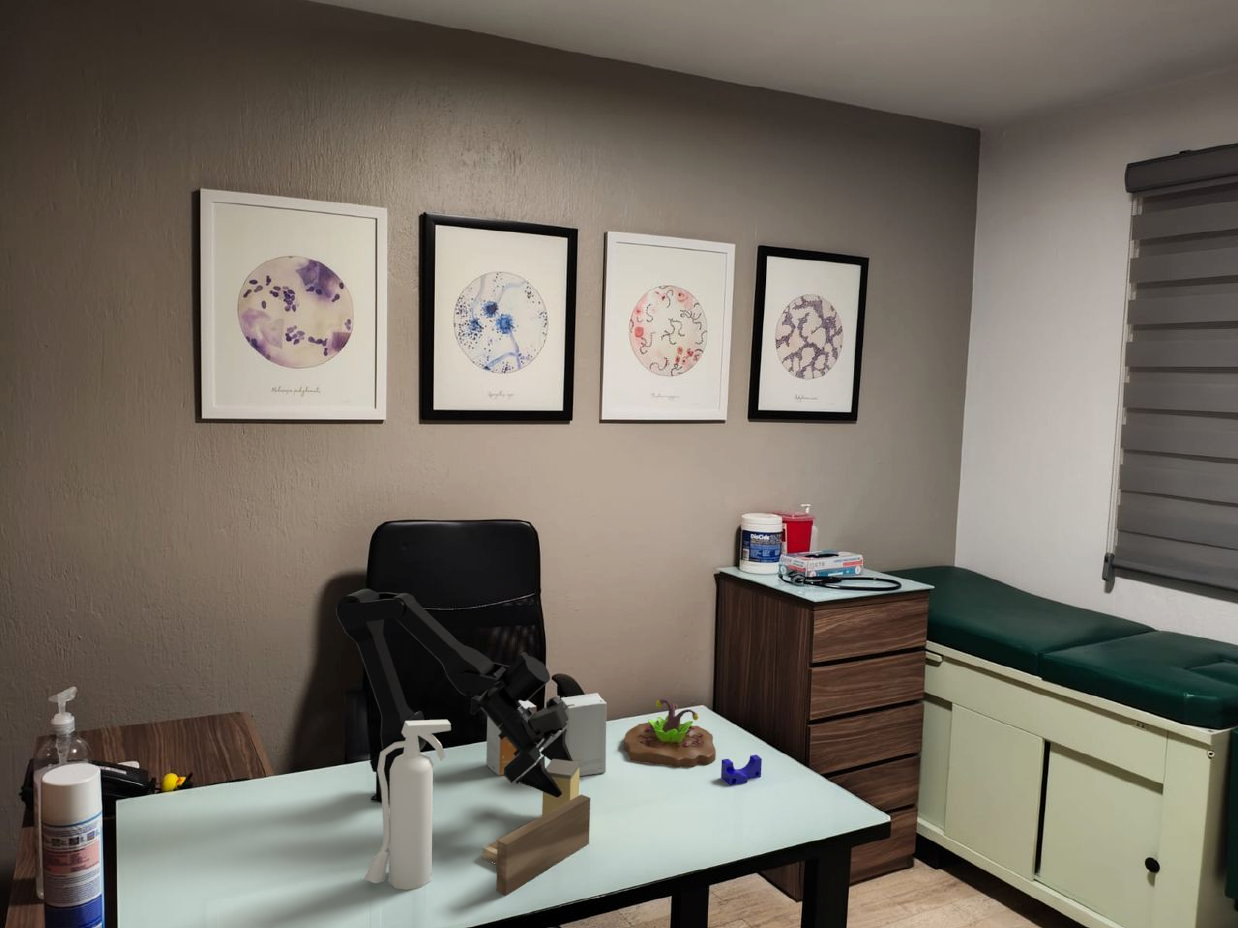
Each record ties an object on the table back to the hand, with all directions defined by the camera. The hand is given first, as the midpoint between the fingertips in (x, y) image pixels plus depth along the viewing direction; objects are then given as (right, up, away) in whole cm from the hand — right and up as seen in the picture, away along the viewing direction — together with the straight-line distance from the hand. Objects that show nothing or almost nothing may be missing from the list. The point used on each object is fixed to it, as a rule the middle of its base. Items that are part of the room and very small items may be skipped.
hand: (567, 784), depth 154 cm
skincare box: (+2, -6, +22) cm, 23 cm away
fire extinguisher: (-24, -8, -19) cm, 32 cm away
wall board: (-7, -8, -11) cm, 15 cm away
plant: (+20, -5, +35) cm, 40 cm away
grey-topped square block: (-1, -7, +1) cm, 7 cm away
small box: (-13, -5, +23) cm, 27 cm away
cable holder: (+34, -7, +20) cm, 40 cm away
